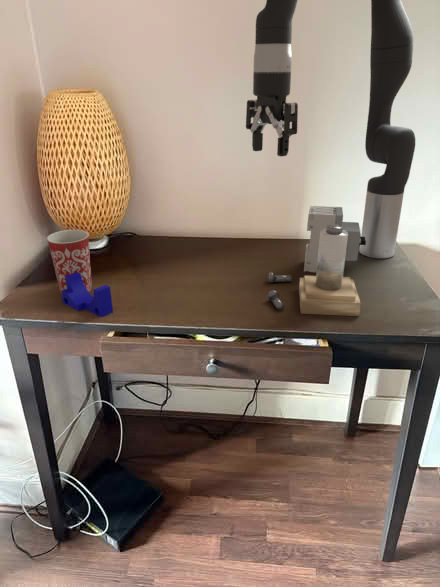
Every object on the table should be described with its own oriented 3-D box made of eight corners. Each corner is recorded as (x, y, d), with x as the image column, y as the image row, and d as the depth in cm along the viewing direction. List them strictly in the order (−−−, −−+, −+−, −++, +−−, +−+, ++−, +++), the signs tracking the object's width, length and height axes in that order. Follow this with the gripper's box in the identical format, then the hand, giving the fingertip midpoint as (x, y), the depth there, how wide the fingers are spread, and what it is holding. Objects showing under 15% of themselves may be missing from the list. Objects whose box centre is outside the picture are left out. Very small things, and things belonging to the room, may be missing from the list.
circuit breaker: (362, 275, 117) (369, 216, 111) (303, 271, 120) (308, 213, 114) (360, 264, 124) (367, 208, 118) (305, 260, 127) (309, 205, 120)
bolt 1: (270, 284, 113) (270, 275, 112) (268, 279, 115) (269, 270, 114) (291, 283, 114) (292, 274, 113) (289, 279, 116) (290, 270, 115)
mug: (96, 296, 108) (88, 240, 102) (54, 301, 106) (44, 244, 100) (97, 275, 119) (90, 223, 113) (59, 278, 117) (50, 226, 112)
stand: (298, 289, 111) (300, 273, 109) (351, 291, 109) (353, 275, 107) (300, 313, 100) (301, 296, 98) (359, 316, 98) (361, 298, 97)
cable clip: (63, 303, 105) (58, 278, 103) (80, 296, 108) (76, 272, 106) (95, 320, 98) (91, 293, 96) (113, 312, 101) (109, 286, 99)
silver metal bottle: (314, 279, 106) (319, 222, 100) (340, 280, 105) (346, 223, 99) (316, 290, 101) (321, 230, 95) (343, 291, 100) (350, 231, 94)
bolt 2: (267, 300, 105) (267, 290, 104) (277, 299, 106) (278, 289, 105) (275, 311, 101) (275, 301, 100) (285, 309, 101) (286, 299, 100)
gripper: (310, 69, 91) (305, 156, 98) (265, 69, 102) (262, 147, 109) (280, 70, 88) (276, 160, 95) (236, 70, 99) (236, 150, 106)
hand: (269, 153), depth 102 cm, fingers open, 8 cm apart
